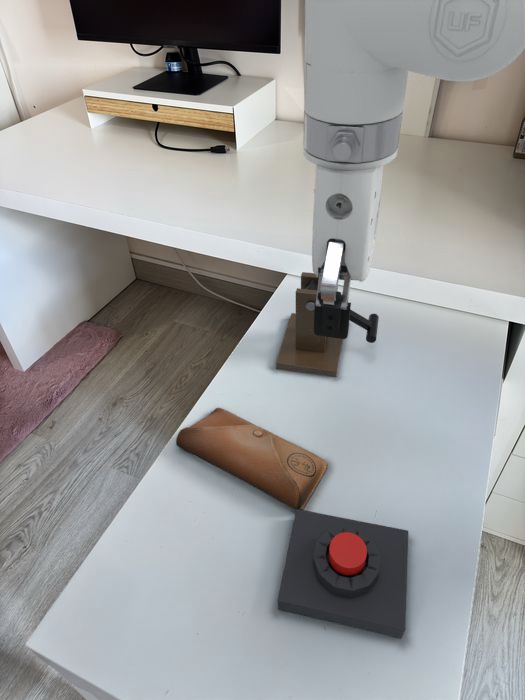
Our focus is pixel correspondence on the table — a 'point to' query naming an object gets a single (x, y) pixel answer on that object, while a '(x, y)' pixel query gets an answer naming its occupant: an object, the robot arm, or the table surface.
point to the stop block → (346, 591)
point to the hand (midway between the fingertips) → (338, 304)
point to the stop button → (347, 553)
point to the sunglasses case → (255, 456)
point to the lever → (357, 318)
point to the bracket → (308, 338)
